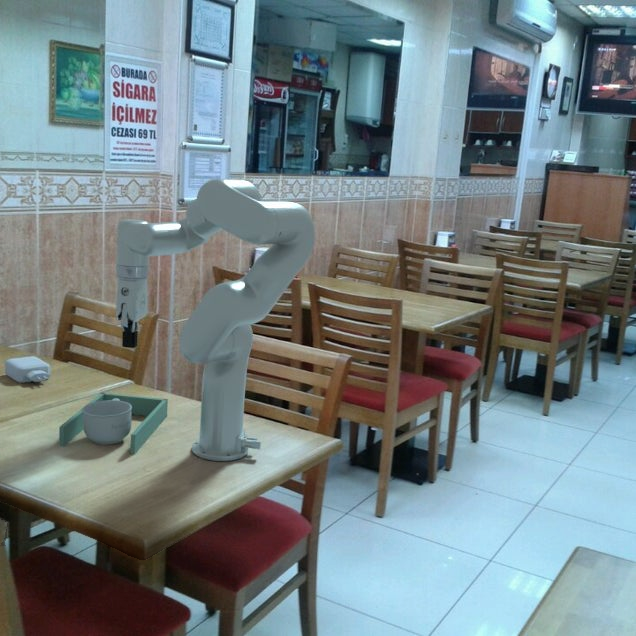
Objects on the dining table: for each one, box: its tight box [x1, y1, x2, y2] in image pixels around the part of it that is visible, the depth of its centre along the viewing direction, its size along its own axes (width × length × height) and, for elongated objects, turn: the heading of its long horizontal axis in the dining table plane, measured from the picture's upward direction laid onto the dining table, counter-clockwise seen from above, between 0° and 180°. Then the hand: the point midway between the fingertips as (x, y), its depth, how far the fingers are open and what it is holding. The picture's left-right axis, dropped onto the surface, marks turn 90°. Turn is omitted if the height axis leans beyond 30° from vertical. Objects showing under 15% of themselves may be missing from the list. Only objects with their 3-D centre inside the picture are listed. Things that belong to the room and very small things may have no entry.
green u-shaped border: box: [58, 392, 169, 455], centre depth 176 cm, size 17×26×4 cm, turn 175°
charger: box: [4, 355, 51, 384], centre depth 208 cm, size 5×9×15 cm
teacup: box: [81, 398, 132, 446], centre depth 171 cm, size 14×11×8 cm
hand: (129, 346), depth 181 cm, fingers closed
